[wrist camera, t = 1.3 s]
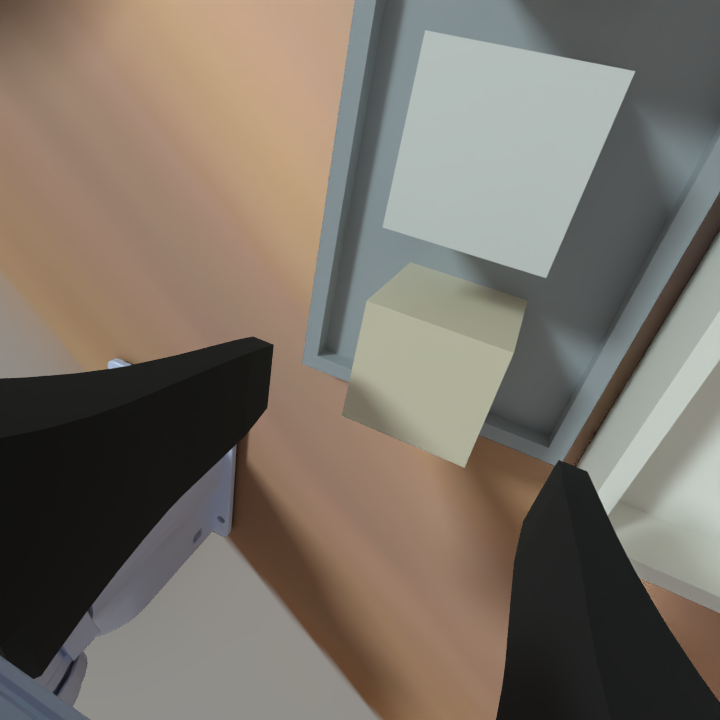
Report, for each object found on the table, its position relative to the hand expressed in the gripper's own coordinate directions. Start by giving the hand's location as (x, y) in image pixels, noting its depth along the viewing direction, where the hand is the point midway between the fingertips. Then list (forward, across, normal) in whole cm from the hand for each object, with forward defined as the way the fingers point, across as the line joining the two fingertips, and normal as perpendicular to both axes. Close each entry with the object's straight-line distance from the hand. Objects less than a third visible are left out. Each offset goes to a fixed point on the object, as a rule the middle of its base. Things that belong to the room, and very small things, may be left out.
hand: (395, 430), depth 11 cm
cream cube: (+6, 0, 0) cm, 6 cm away
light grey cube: (+6, 0, -6) cm, 9 cm away
